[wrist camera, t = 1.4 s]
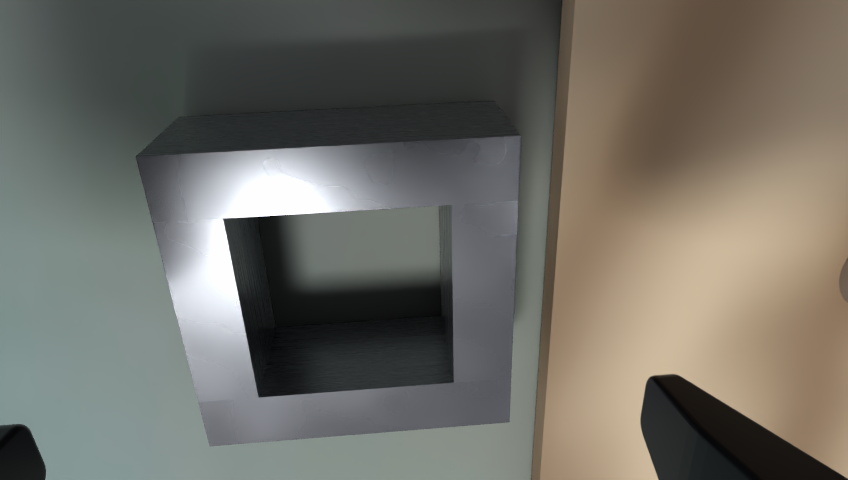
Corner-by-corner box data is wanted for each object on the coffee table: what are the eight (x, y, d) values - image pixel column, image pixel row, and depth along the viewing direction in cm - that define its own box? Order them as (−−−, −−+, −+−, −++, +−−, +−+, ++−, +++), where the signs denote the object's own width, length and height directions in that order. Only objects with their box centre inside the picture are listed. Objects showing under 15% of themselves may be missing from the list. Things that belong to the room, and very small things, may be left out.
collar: (494, 100, 13) (520, 135, 10) (489, 352, 15) (509, 422, 13) (178, 116, 12) (136, 156, 10) (233, 370, 15) (209, 445, 13)
